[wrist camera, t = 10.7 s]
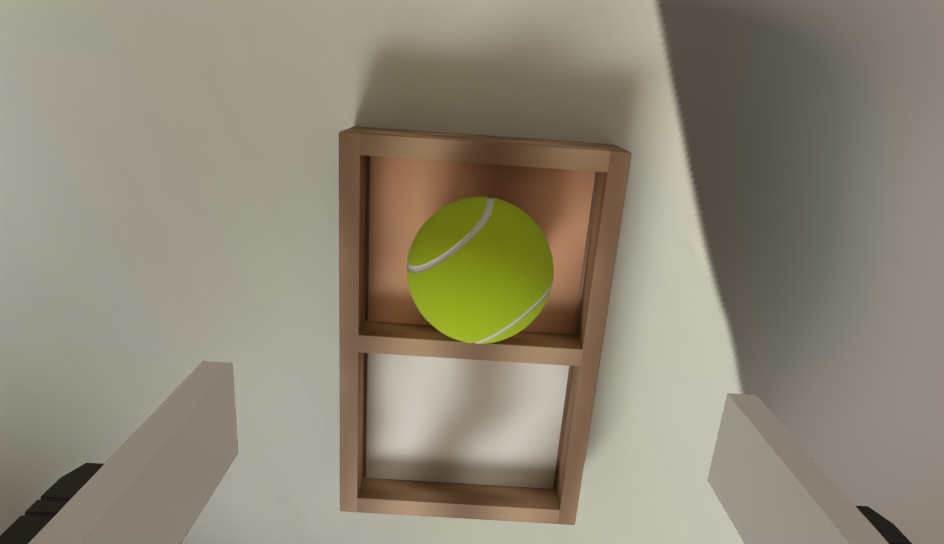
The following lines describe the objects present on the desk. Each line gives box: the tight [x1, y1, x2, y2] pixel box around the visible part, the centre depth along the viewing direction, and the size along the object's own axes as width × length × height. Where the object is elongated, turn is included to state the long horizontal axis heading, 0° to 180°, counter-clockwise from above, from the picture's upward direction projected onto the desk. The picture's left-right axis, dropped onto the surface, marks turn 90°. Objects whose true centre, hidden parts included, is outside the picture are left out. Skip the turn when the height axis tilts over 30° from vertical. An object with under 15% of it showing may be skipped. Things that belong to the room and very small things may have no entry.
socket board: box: [339, 127, 631, 525], centre depth 33 cm, size 14×22×4 cm, turn 176°
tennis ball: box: [407, 197, 554, 344], centre depth 28 cm, size 7×7×7 cm
